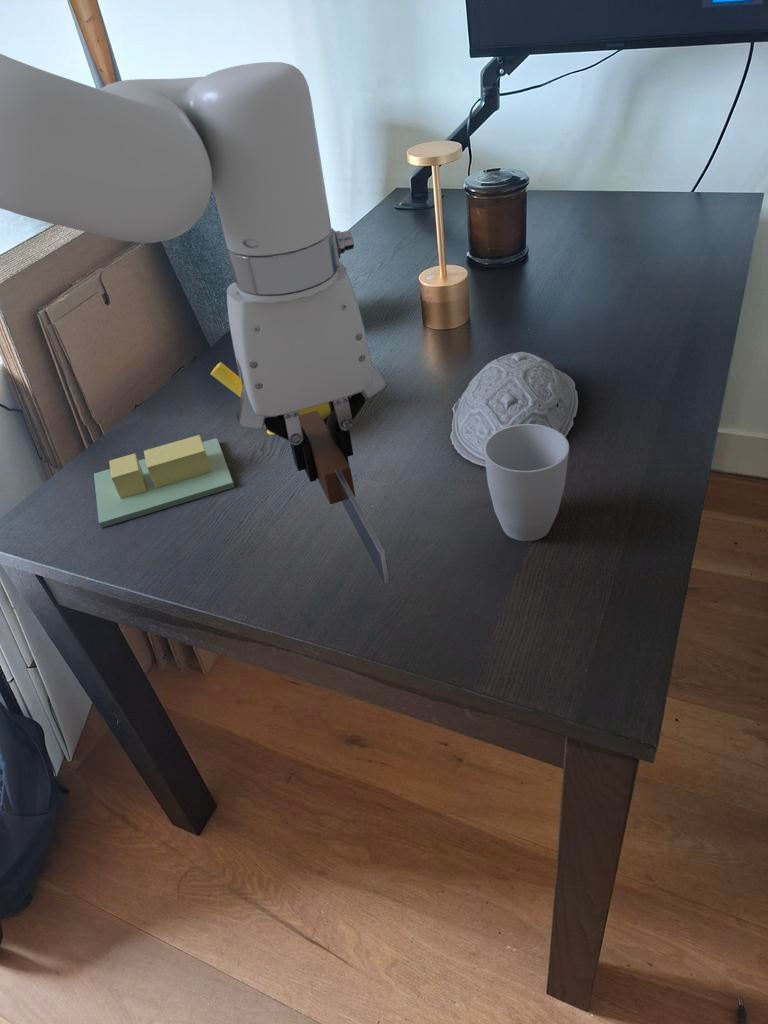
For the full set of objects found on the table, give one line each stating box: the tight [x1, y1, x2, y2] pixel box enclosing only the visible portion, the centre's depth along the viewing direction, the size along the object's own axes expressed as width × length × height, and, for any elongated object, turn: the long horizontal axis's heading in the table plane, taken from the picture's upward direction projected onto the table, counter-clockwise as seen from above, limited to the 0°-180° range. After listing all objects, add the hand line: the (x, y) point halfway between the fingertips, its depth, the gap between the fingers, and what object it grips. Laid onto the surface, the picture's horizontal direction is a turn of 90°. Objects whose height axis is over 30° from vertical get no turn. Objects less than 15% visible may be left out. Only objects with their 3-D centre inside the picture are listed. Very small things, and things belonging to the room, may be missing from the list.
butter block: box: [143, 434, 211, 488], centre depth 93 cm, size 7×4×3 cm, turn 110°
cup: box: [484, 424, 570, 542], centre depth 76 cm, size 8×8×10 cm
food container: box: [449, 351, 579, 468], centre depth 95 cm, size 16×25×7 cm, turn 163°
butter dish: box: [93, 437, 235, 529], centre depth 94 cm, size 16×11×1 cm
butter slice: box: [108, 453, 147, 499], centre depth 92 cm, size 3×4×3 cm
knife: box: [299, 410, 391, 585], centre depth 61 cm, size 21×2×3 cm, turn 20°
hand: (325, 466), depth 66 cm, fingers closed on knife, 2 cm apart
